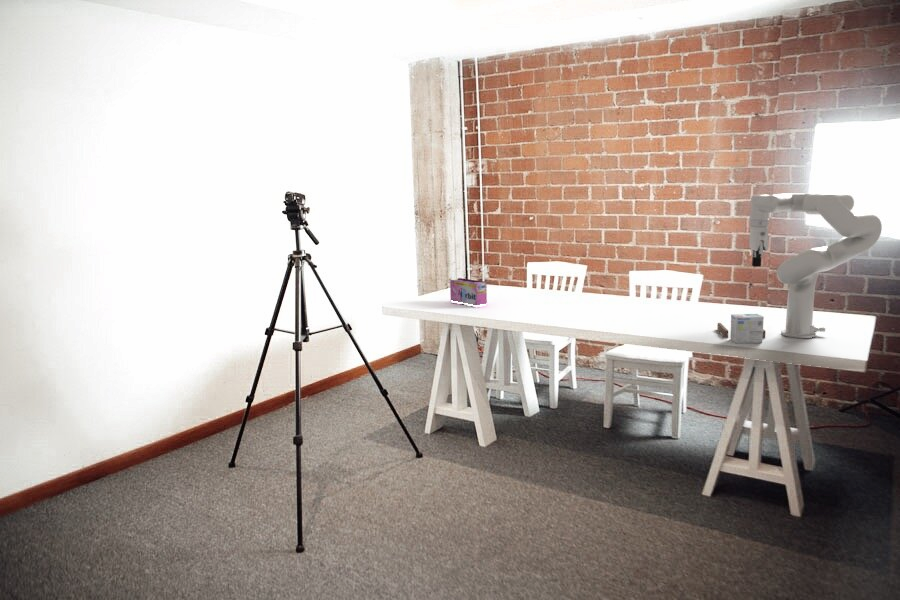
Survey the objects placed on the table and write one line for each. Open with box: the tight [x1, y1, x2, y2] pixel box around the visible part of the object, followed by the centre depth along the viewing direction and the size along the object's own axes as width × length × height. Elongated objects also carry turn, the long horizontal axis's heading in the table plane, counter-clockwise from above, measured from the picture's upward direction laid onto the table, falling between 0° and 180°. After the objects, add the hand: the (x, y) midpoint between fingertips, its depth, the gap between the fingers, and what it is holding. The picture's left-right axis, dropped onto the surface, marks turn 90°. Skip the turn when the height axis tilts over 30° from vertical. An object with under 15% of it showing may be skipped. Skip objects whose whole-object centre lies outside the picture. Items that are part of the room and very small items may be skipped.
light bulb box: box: [729, 313, 765, 344], centre depth 257 cm, size 11×7×11 cm, turn 87°
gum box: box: [449, 277, 488, 305], centre depth 356 cm, size 24×8×14 cm, turn 40°
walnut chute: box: [716, 322, 766, 339], centre depth 270 cm, size 15×15×3 cm
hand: (756, 266), depth 278 cm, fingers closed
